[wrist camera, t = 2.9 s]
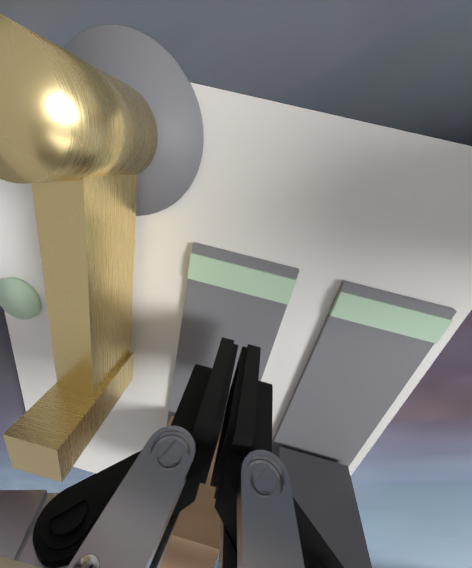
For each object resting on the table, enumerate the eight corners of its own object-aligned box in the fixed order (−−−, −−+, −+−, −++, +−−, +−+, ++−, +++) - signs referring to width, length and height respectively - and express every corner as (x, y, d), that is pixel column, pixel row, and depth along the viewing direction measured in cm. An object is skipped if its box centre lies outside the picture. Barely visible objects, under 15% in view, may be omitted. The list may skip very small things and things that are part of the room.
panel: (304, 505, 21) (307, 543, 19) (55, 431, 22) (31, 460, 20) (538, 140, 10) (614, 132, 7) (-7, 18, 11) (-81, -20, 8)
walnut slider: (224, 472, 17) (204, 586, 12) (165, 455, 17) (124, 560, 12) (237, 434, 15) (219, 549, 10) (171, 415, 15) (126, 520, 11)
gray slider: (323, 501, 16) (340, 628, 12) (262, 483, 17) (256, 602, 12) (348, 465, 15) (379, 598, 10) (279, 446, 15) (280, 568, 10)
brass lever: (141, 381, 14) (74, 486, 10) (90, 367, 14) (0, 463, 10) (161, 91, 8) (17, -4, 4) (75, 70, 9) (-165, -43, 4)
